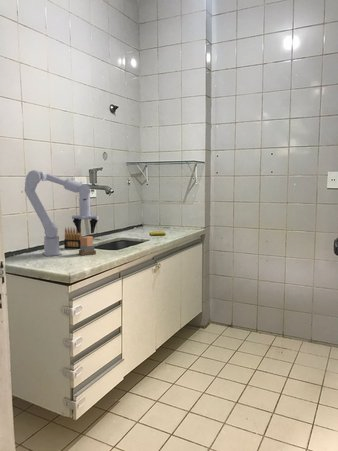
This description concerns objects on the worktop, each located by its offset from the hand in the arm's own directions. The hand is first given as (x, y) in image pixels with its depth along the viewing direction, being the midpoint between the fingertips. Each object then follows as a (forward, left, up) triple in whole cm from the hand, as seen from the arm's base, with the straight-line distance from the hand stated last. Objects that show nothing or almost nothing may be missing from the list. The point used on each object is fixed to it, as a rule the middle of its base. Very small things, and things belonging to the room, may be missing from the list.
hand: (85, 232), depth 200 cm
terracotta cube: (+4, -1, -6) cm, 7 cm away
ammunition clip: (-15, -3, -11) cm, 19 cm away
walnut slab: (+5, -1, -11) cm, 12 cm away
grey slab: (+4, -1, -8) cm, 10 cm away
